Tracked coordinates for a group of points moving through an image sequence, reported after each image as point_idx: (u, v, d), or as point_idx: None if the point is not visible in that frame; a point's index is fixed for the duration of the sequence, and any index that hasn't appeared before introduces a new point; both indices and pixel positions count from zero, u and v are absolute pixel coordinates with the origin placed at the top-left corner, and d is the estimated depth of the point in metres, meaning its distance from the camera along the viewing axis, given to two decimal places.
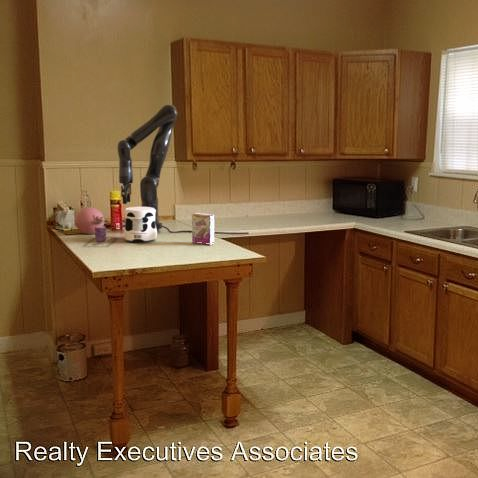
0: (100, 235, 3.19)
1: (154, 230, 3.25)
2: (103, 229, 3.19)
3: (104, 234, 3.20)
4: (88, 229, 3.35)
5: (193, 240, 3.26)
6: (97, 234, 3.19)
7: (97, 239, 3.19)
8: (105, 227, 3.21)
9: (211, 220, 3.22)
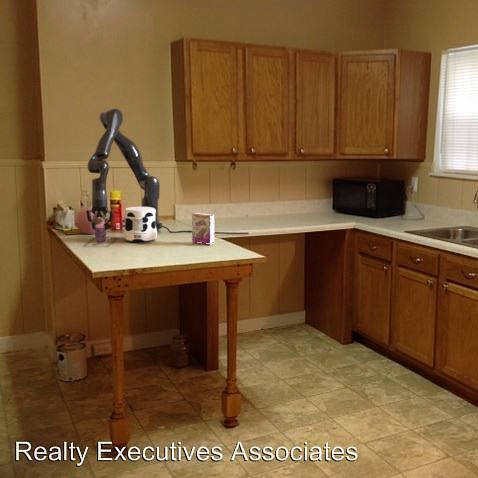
0: (100, 235, 3.19)
1: (154, 230, 3.25)
2: (103, 229, 3.19)
3: (104, 234, 3.20)
4: (88, 229, 3.35)
5: (193, 240, 3.26)
6: (97, 234, 3.19)
7: (97, 239, 3.19)
8: None
9: (211, 220, 3.22)
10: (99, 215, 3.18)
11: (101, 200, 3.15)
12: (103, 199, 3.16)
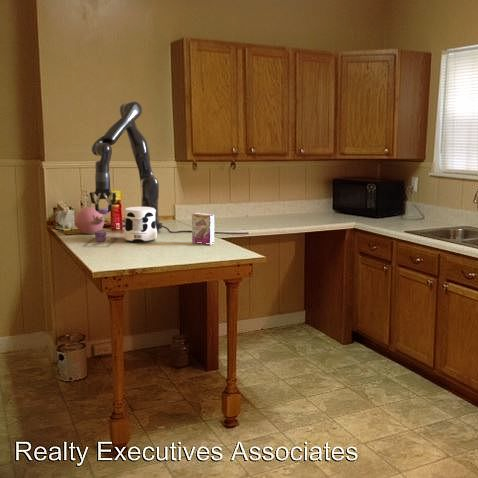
0: (100, 235, 3.19)
1: (154, 230, 3.25)
2: (106, 211, 3.25)
3: (104, 234, 3.20)
4: (88, 229, 3.35)
5: (193, 240, 3.26)
6: (97, 234, 3.19)
7: (97, 239, 3.19)
8: None
9: (211, 220, 3.22)
10: (102, 197, 3.24)
11: (104, 182, 3.21)
12: (106, 181, 3.21)
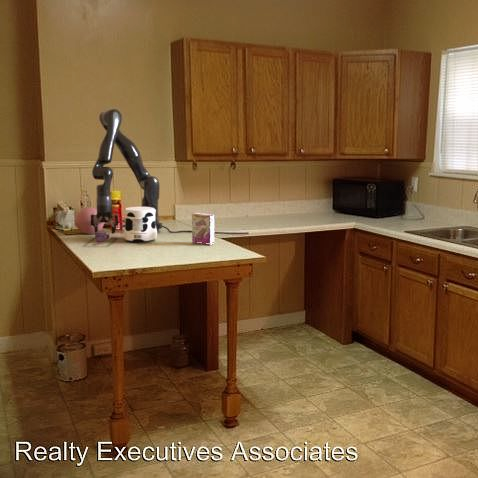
0: (100, 235, 3.19)
1: (154, 230, 3.25)
2: (107, 236, 3.28)
3: (104, 234, 3.20)
4: (88, 229, 3.35)
5: (193, 240, 3.26)
6: (97, 234, 3.19)
7: (97, 239, 3.19)
8: (109, 234, 3.29)
9: (211, 220, 3.22)
10: (104, 220, 3.26)
11: (106, 206, 3.23)
12: (108, 205, 3.24)
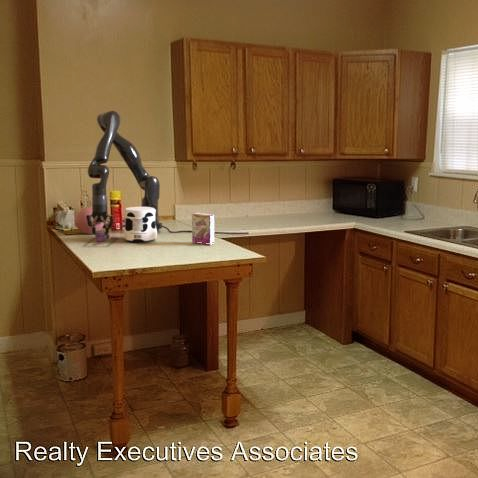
0: (100, 235, 3.19)
1: (154, 230, 3.25)
2: (107, 236, 3.28)
3: (104, 234, 3.20)
4: (88, 229, 3.35)
5: (193, 240, 3.26)
6: (97, 234, 3.19)
7: (97, 239, 3.19)
8: (109, 234, 3.29)
9: (211, 220, 3.22)
10: (99, 220, 3.19)
11: (101, 205, 3.15)
12: (103, 204, 3.16)
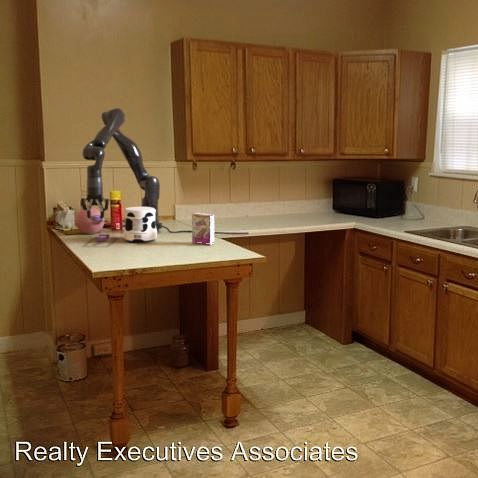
0: (95, 219, 3.10)
1: (154, 230, 3.25)
2: (107, 236, 3.28)
3: (99, 218, 3.11)
4: (88, 229, 3.35)
5: (193, 240, 3.26)
6: (92, 218, 3.10)
7: (97, 239, 3.19)
8: (109, 234, 3.29)
9: (211, 220, 3.22)
10: (94, 203, 3.10)
11: (96, 188, 3.06)
12: (98, 187, 3.07)
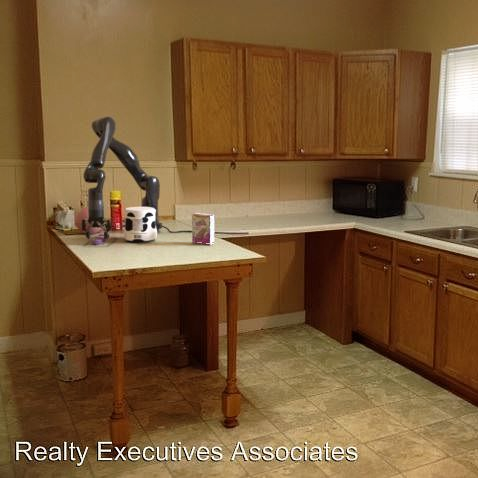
0: (96, 243, 3.12)
1: (154, 230, 3.25)
2: None
3: (100, 242, 3.13)
4: None
5: (193, 240, 3.26)
6: (93, 242, 3.12)
7: None
8: (109, 234, 3.29)
9: (211, 220, 3.22)
10: (96, 225, 3.12)
11: (97, 210, 3.08)
12: (100, 209, 3.09)
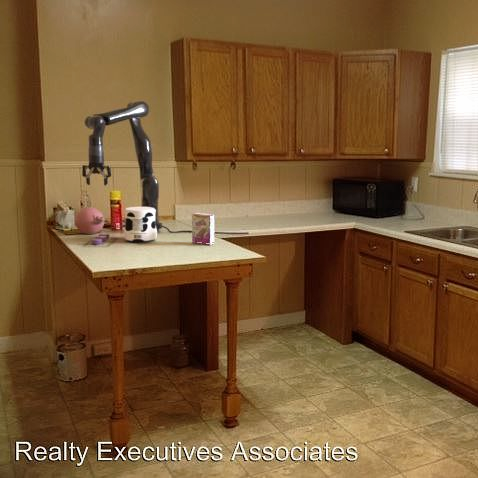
0: (96, 243, 3.12)
1: (154, 230, 3.25)
2: (107, 236, 3.28)
3: (100, 242, 3.13)
4: (88, 229, 3.35)
5: (193, 240, 3.26)
6: (93, 242, 3.12)
7: None
8: (109, 234, 3.29)
9: (211, 220, 3.22)
10: (96, 171, 3.18)
11: (98, 156, 3.14)
12: (100, 155, 3.15)
